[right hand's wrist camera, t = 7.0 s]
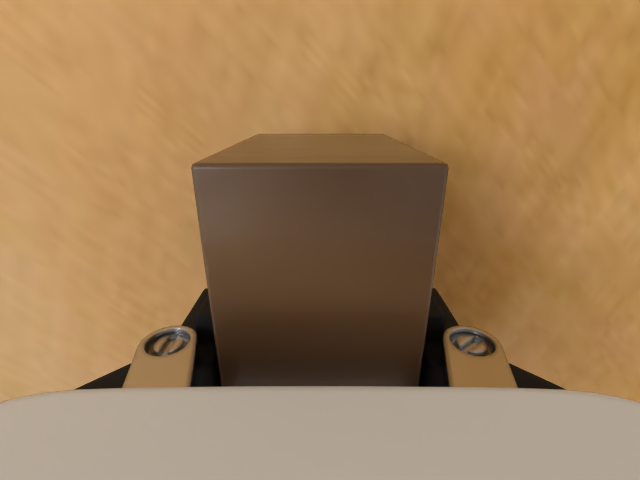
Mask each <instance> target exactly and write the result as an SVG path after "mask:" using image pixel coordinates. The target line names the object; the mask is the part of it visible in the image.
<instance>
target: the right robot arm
mask: <svg viewBox="0 0 640 480" xmlns="http://www.w3.org/2000/svg"><path fill="white" fill-rule="evenodd" d="M0 480H640V402H636V401H632V400H629V399H625V398H621V397H616V396H610V395H604V394H599V393H593V392H584V391H573V390H566V389H564V388H562V387H559V386H557V385H555V384H553V383H551V382H549V381H546V380H544V379H542V378H540V377H538V376H536V375H533V374H531V373H529V372H527V371H525V370H523V369H520V368H518V367H516V366H514V365H512V364H510V363H508V361H507V358H506V355H505V353H504V350H503V347H502V345H501V344H500V342H499V341H498V340H497V339H496V338H495V337H494V336H493V335H491V334H489V333H488V332H486V331H484V330H481V329H478V328H475V327H470V326H459V325H458V323H457V322H456V320H455V318H454V317H453V315H452V314H451V312H450V311H449V309H448V307H447V306H446V304H445V303H444V301H443V299H442V298H441V296H440V295H439V293H438V292H437V290H436V289H434V288H432V293H431V300H430V307H429V315H428V322H427V330H426V337H425V344H424V352H423V359H422V366H421V374H420V381H419V387H386V386H242V387H221V382H220V375H219V367H218V360H217V353H216V345H215V338H214V331H213V323H212V316H211V309H210V301H209V294H208V288H207V289H205V290H204V291H203V292H202V294H201V295H200V297H199V299H198V300H197V302H196V303H195V305H194V307H193V308H192V310H191V311H190V313H189V314H188V316H187V318H186V319H185V321H184V322H183V324H182V326H170V327H165V328H162V329H159V330H156V331H154V332H152V333H151V334H149V335H147V336H146V337H145V338H144V339H143V340H142V341H141V342H140V344H139V345H138V347H137V350H136V353H135V355H134V358H133V361H132V363H131V364H129V365H127V366H124V367H122V368H120V369H118V370H116V371H113V372H111V373H109V374H107V375H105V376H103V377H100V378H98V379H96V380H94V381H92V382H90V383H87V384H85V385H83V386H81V387H79V388H77V389H74V390H67V391H56V392H47V393H41V394H36V395H30V396H24V397H19V398H15V399H11V400H7V401H4V402H0Z"/></svg>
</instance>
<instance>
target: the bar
mask: <svg viewBox="0 0 640 480" xmlns="http://www.w3.org/2000/svg"><path fill="white" fill-rule="evenodd" d="M191 169H192V176H193V184H194V191H195V198H196V206H197V213H198V220H199V228H200V235H201V242H202V250H203V257H204V264H205V272H206V279H207V287H208V294H209V301H210V309H211V316H212V323H213V331H214V338H215V345H216V353H217V360H218V367H219V375H220V382H221V387H242V386H386V387H419V381H420V374H421V366H422V359H423V352H424V344H425V337H426V330H427V322H428V315H429V307H430V300H431V293H432V285H433V278H434V271H435V263H436V256H437V248H438V241H439V234H440V226H441V219H442V212H443V204H444V197H445V190H446V182H447V175H448V165H447V164H445V163H443V162H441V161H439V160H437V159H435V158H433V157H430V156H428V155H426V154H424V153H422V152H420V151H418V150H416V149H414V148H411V147H409V146H407V145H405V144H403V143H401V142H399V141H397V140H394V139H392V138H390V137H388V136H386V135H384V134H257V135H255V136H253V137H251V138H249V139H246V140H244V141H242V142H240V143H238V144H236V145H233V146H231V147H229V148H227V149H225V150H222V151H220V152H218V153H216V154H214V155H212V156H209V157H207V158H205V159H203V160H201V161H199V162H196V163H194V164H192V168H191Z"/></svg>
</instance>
